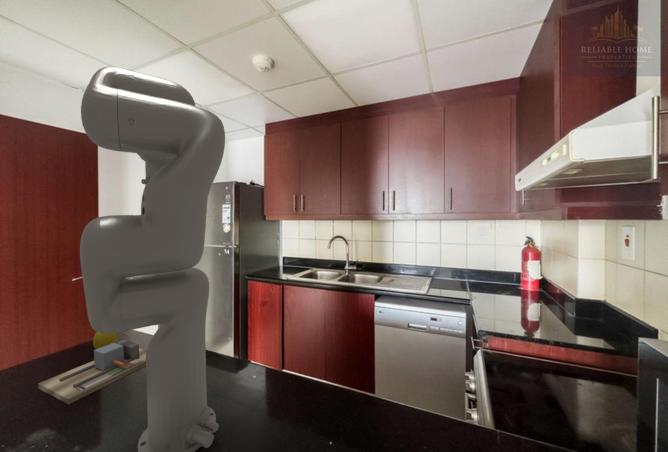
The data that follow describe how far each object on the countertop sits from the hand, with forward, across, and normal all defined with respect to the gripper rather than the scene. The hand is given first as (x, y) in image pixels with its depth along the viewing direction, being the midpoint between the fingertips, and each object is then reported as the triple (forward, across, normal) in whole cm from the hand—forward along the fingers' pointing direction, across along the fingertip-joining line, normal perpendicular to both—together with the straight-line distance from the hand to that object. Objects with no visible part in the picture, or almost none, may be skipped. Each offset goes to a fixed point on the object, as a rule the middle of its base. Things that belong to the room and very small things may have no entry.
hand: (163, 247), depth 76 cm
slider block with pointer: (+31, -11, +5) cm, 33 cm away
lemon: (+32, -6, +19) cm, 38 cm away
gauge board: (+32, -12, +7) cm, 35 cm away
